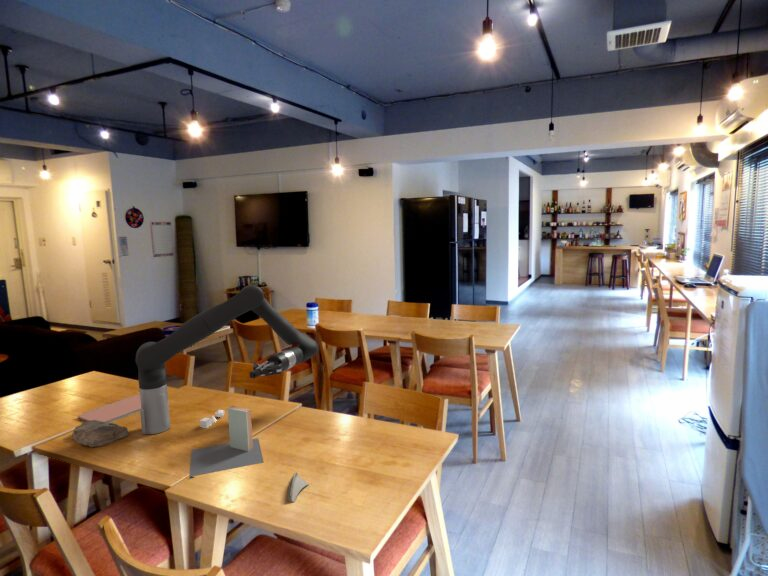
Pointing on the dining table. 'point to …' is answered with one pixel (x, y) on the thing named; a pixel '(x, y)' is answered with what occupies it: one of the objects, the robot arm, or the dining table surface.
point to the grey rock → (98, 433)
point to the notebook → (114, 410)
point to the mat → (223, 458)
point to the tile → (240, 428)
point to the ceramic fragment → (296, 487)
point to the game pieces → (211, 419)
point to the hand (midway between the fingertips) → (251, 375)
